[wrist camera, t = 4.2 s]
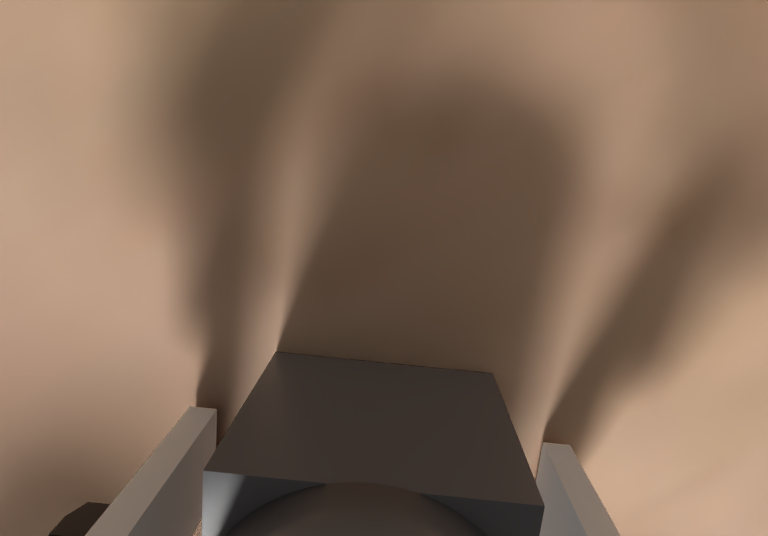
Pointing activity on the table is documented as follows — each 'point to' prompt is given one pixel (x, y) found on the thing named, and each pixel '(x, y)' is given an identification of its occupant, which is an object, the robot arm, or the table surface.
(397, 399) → the knob
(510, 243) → the table surface
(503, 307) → the table surface
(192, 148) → the table surface
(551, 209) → the table surface
